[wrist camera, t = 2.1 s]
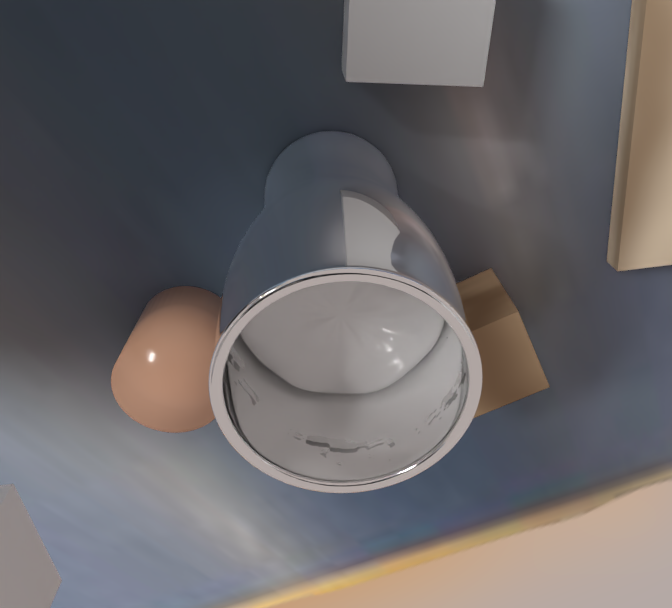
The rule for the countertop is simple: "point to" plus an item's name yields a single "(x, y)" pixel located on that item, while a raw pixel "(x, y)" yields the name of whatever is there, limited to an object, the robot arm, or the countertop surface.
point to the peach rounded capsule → (169, 361)
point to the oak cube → (500, 343)
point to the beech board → (644, 144)
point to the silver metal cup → (341, 328)
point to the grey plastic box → (417, 41)
